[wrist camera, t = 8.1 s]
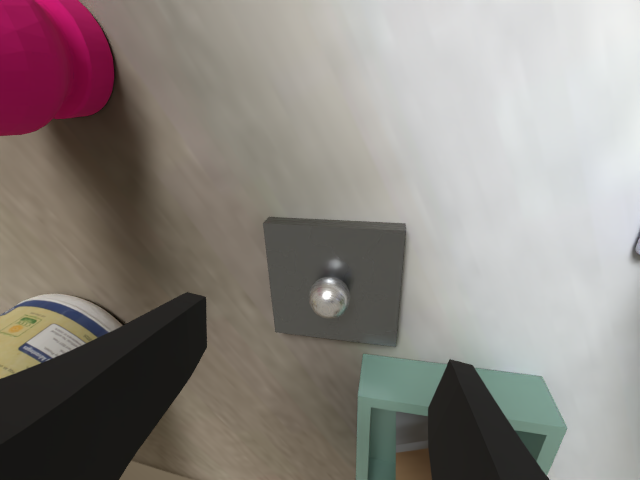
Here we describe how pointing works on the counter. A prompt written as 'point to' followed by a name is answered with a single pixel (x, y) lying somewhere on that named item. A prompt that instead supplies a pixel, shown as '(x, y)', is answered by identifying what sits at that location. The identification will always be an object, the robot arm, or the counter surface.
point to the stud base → (345, 260)
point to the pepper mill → (50, 64)
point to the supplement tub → (48, 329)
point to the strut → (412, 447)
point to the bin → (415, 397)
